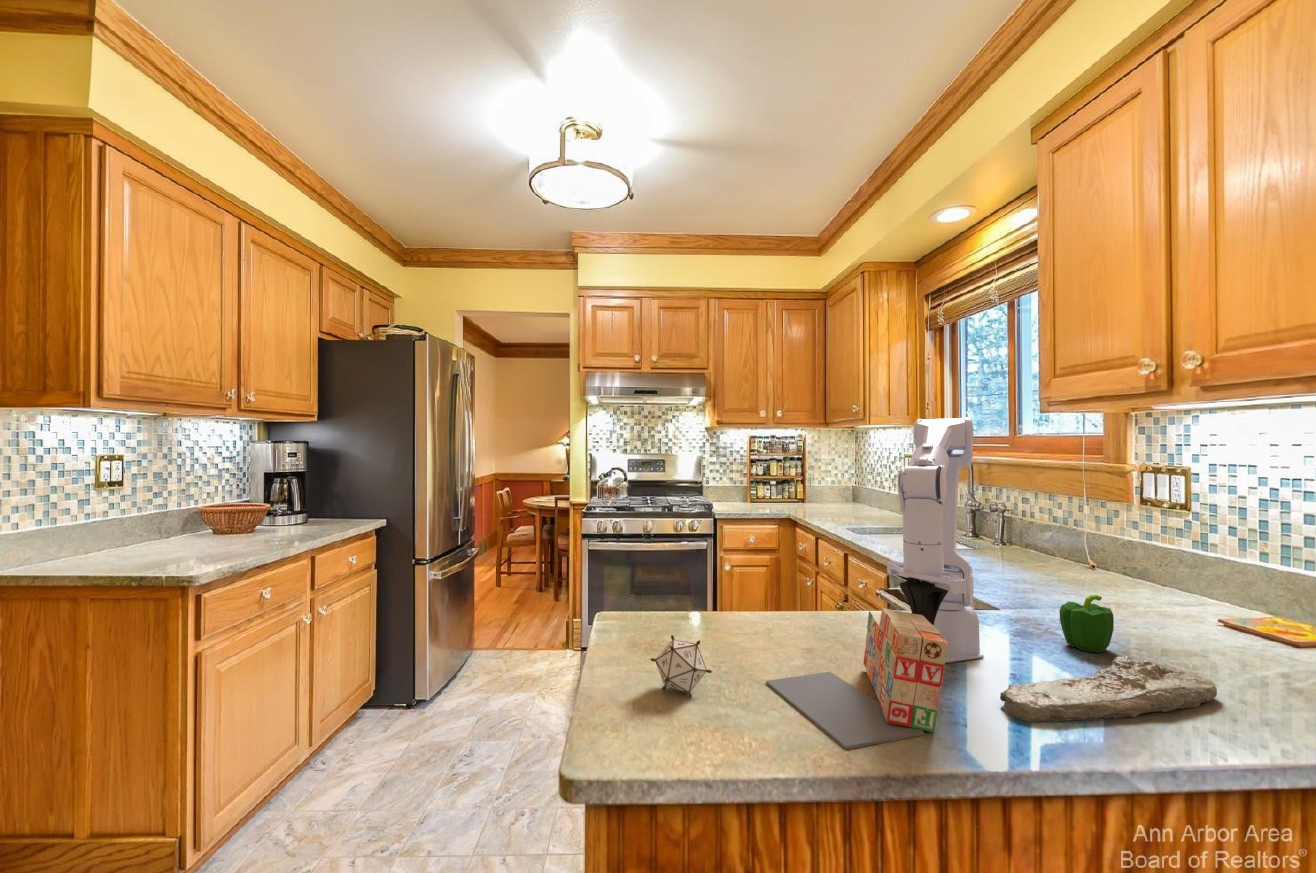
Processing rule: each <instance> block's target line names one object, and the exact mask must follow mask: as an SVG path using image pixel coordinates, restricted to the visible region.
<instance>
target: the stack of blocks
mask: <svg viewBox="0 0 1316 873" xmlns="http://www.w3.org/2000/svg"><path fill="white" fill-rule="evenodd" d="M866 625H867V626H866V629H867V630H866V631H867V632H866V636H865V637H866V638H865V645H864V646H865V648H864V649H865V650H864V653H863V654H864V655H863V666H864V668H865V671H866V674H867V676H868V679H869V681H870V683H871V685H872V687H873V689H874V692H875V694H876V697H877V700H878V703H879V704H880V706H881V709H882V711H883V714H884V717H885V719H886V721H887V722H889V723H894V724H898V725H903V726H907V727H913V728H917V729H920V730H922V731H927V732H931V733H935V732H936V727H937V721H938V714H939V710H938V709H939V703H940V698H941V690H942V689H941V688H942V686H943V681H944V674H945V668H946V666H945V665H946V663H945V659H946V654H947V647H948V642H947V641H946V640H945V639H944V638H943V637H942V636H941V633H940V632H939V631H938V630H937V629H936V628H935V627H934V626H933V625H932V624H931V623H930V622H928V620H927V619H926V618H925V617H924V616H923V615H919V614H913V613H912V612H906V611H902V610H901V611H900V610H896V609H894V610H893V609H889V608H884V607H882V608H881V612H878V611H872V610H869V611H868V617H867V624H866Z"/></svg>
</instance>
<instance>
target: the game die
mask: <svg viewBox="0 0 1316 873" xmlns="http://www.w3.org/2000/svg"><path fill="white" fill-rule="evenodd" d="M670 639H671V641H670V642H669V643H668V644H667V645H666V647H665V648H664V649H663V650H662V651H661V653H660V654H659V655H658V656H657V657H656V658H654V657H651V658H649V660H650V662H654V663H655V664H656V666H657V670H658V672H659V674H660V677H661V681H662V682H663V686H662V687H661V692H662V691H666V688H669V689H672V690H676V691H680V692H683V693H687V696H688V698H689V699H692V693H691V692H692V690H693V689H694V688H695V687H696V686H697V684H698V683H699V682H700V681H701V680H702V678H703V677H704V676H705V675H706V673H707V674H711V673H713V671H712V670H711V669H709V668H708V669H707V667H706V664H705V662H704V659H703V656H702V654H701V650H700V649H699V645H700V644H701V640H697V641H696V643H692V642H687V641H682V640H679V639H675V635H673V634H671V636H670Z"/></svg>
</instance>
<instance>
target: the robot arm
mask: <svg viewBox="0 0 1316 873" xmlns="http://www.w3.org/2000/svg"><path fill="white" fill-rule="evenodd" d="M973 423H974V422H973V421H972V419H971V418H970V417H969V416H967V417H966V416H965V417H960V418H959V417H957V418H953V417H952V418H930V419H929V418H926V419H922V418H918V419H917V420H916V421H915V422H914V425H913V443H914V446H915V450H914V451H913V453H912V456H911V458H910V460H909V463H908V465H906V466H904V468H903V469H901V468H900V469H899V470H898V475H897V491H898V497H899V510H900V512H901V513H902V538H903V539H902V542H903V544H902V551H903V553H902V554H903V562H901V561H895V560H894V561H886V574H889V575H897V576H899V577H902V578H906V580H905V581H902V582H899V588H900V589H901V591H902V593H903V594H904V596H905V599H906V601H907V602H908V606H909V609H910V610H911V611H910V612H911V613H913V614H919V615H923V616H924V617H925V618H926V619H927V620H928V622H930V623H931V624H932V625H933V626H934V627H935V628H936V629H937V630H938V631H939V632H940V633H941V636H942V637H943V638H944V639H945V640H946V641H947V642H948V647H947V654H946V659H945V664H946V663H955V662H960V661H961V662H962V661H968V660H974V659H981V658H984V657H985V656H984V654H983V653H981V652H980V650H981V649H980V622H979V621H980V620H979V616H978V614H977V612H976V611H975V609H974V608H973V607H972V606H971V605H973V600H974V578H973V567H972V565H971V563H970V562H969V561H968V560H967V559H966V558H964V557H963V555H962V556H961V555H960V554H959V553H958V552H957V528H958V526H957V525H958V497H959V478H960V476H961V475H960V474H961V471H962V469H963V468H964V467H966V466H969V465H972V459H973V456H974V455H973V454H974V424H973Z"/></svg>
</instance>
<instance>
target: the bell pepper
mask: <svg viewBox="0 0 1316 873" xmlns="http://www.w3.org/2000/svg"><path fill="white" fill-rule="evenodd" d="M1102 599H1103V598H1102V596H1100V595H1098V594H1092V595H1089V596H1087V597H1085V599H1084V602H1083V605H1082V604H1080V603H1077V602H1075V601H1067V602H1065V603H1063V604H1061V606H1060V608H1059V622H1060V626H1061V630H1062V633H1063V636H1064V639H1065V641H1066V644H1068V646H1071V647H1075V648H1077V649H1079V650H1082V651H1084V652H1089V653H1102V652H1104V651H1105V650H1107V648H1108V647H1109V646H1110V644H1111V641H1112V640H1111V639H1112V636H1113V633H1114V629H1115V628H1114V622H1115V621H1114V614H1113V611H1112V609H1111V608H1110V607H1105V606H1101V605H1098V604H1097V603H1092V602H1093V601H1098V602H1099V601H1101V600H1102Z"/></svg>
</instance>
